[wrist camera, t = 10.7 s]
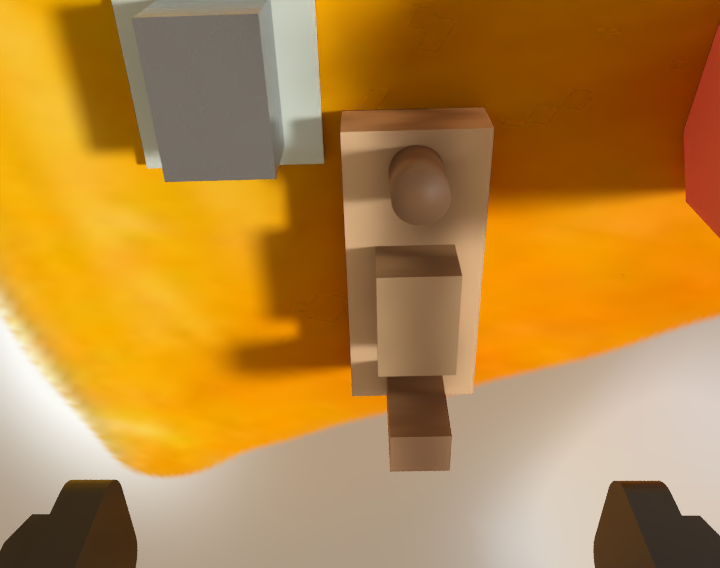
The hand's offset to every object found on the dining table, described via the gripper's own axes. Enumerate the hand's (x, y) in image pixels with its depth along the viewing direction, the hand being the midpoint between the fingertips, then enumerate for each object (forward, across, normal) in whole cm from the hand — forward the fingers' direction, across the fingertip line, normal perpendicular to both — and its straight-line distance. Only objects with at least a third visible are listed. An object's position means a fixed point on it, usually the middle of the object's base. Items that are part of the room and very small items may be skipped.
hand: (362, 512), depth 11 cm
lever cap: (+24, +6, 0) cm, 25 cm away
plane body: (+25, -3, +9) cm, 27 cm away
